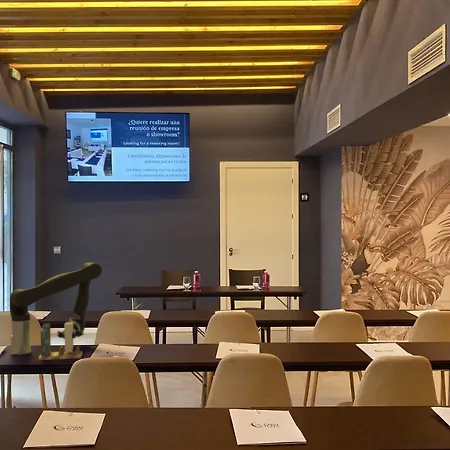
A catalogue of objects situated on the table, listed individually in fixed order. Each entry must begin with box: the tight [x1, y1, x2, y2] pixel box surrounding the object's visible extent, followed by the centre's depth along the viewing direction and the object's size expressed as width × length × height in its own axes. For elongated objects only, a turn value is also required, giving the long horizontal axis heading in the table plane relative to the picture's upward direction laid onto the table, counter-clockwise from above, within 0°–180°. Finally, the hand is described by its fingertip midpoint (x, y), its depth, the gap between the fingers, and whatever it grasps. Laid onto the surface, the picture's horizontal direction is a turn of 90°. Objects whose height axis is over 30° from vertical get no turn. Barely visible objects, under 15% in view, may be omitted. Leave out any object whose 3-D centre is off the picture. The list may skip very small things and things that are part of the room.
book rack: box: [38, 322, 83, 361], centre depth 281 cm, size 20×10×16 cm, turn 99°
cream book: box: [64, 321, 74, 352], centre depth 282 cm, size 4×6×14 cm, turn 9°
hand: (68, 336), depth 279 cm, fingers closed on cream book, 3 cm apart
